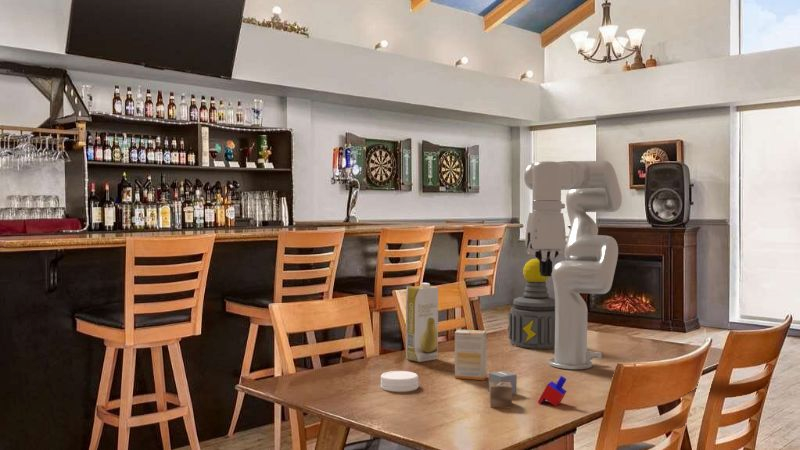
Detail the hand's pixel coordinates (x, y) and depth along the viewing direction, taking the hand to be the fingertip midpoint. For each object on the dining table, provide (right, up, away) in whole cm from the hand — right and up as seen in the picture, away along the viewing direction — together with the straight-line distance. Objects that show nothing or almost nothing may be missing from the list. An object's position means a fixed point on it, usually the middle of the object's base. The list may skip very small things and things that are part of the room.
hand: (545, 275), depth 188 cm
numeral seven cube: (-15, -30, -20) cm, 39 cm away
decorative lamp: (+8, -28, +56) cm, 63 cm away
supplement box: (-20, -29, +7) cm, 36 cm away
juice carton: (-32, -28, +30) cm, 53 cm away
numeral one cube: (-13, -29, -9) cm, 33 cm away
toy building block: (-2, -30, -19) cm, 35 cm away
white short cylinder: (-39, -29, -4) cm, 49 cm away
